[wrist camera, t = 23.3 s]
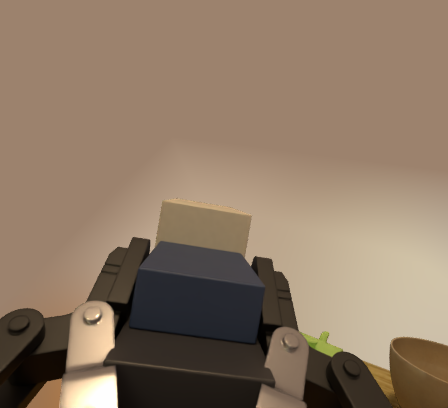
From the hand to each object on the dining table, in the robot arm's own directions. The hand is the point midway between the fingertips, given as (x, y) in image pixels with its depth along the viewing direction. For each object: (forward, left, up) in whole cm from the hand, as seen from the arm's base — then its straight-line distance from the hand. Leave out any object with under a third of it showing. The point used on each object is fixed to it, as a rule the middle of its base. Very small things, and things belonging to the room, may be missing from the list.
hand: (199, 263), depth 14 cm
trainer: (0, +3, -3) cm, 4 cm away
